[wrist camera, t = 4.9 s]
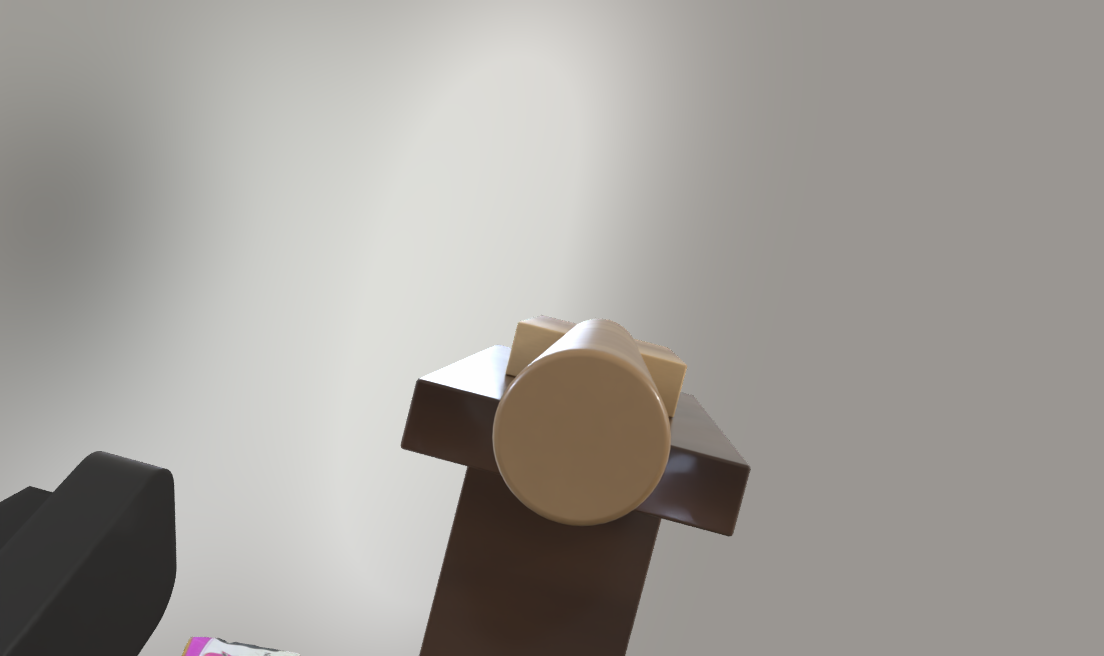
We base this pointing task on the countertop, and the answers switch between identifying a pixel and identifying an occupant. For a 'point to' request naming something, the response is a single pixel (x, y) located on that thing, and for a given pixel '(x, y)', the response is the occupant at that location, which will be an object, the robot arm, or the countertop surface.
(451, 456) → the wooden pedestal stand
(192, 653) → the candy bar box
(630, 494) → the spatula
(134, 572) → the robot arm
